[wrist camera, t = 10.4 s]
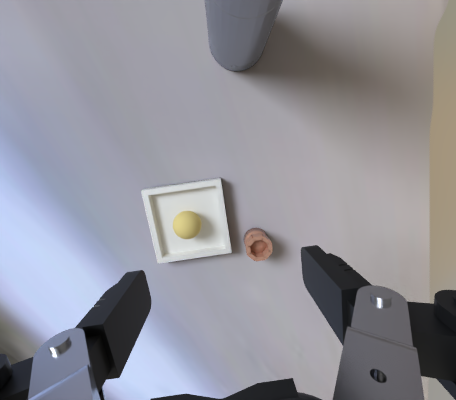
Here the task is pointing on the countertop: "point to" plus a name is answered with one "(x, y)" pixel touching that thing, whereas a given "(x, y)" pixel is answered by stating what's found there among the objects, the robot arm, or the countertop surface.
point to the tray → (187, 201)
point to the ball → (187, 225)
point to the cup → (257, 244)
